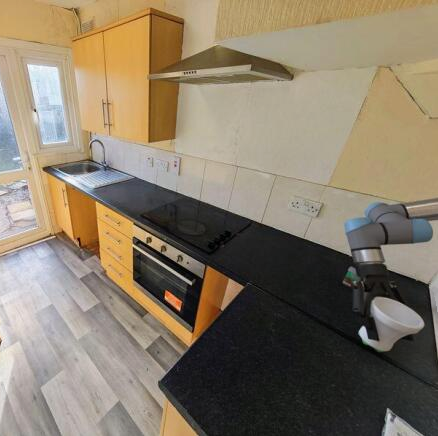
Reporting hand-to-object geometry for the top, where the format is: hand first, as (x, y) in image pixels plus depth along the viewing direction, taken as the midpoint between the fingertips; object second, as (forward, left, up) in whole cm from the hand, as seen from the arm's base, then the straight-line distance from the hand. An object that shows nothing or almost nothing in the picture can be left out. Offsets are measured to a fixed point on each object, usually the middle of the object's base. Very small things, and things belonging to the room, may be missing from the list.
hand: (390, 340), depth 67 cm
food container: (0, -38, -9) cm, 40 cm away
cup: (+2, -2, -6) cm, 6 cm away
